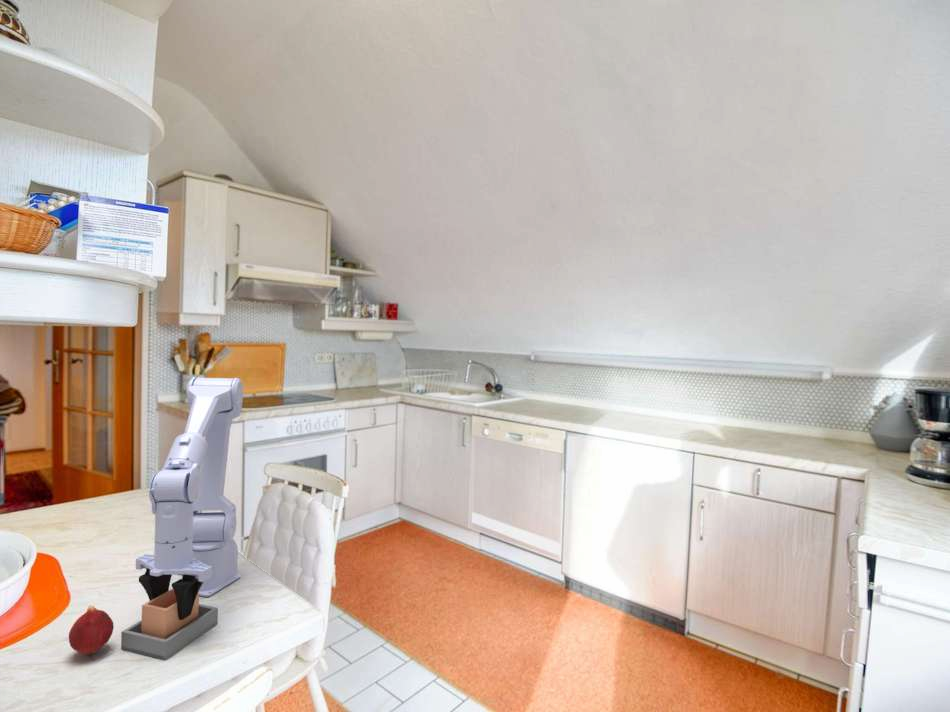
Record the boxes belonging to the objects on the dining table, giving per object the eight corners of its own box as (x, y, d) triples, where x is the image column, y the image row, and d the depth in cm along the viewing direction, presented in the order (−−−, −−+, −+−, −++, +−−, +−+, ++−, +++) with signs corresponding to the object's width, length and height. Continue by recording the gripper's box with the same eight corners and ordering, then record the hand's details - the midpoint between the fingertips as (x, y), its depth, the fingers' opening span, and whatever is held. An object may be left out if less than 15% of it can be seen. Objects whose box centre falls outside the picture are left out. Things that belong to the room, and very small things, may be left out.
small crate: (175, 613, 92) (176, 586, 92) (198, 618, 90) (199, 591, 90) (141, 634, 85) (142, 605, 85) (164, 640, 84) (165, 610, 84)
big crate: (177, 615, 95) (177, 599, 95) (217, 624, 92) (217, 607, 92) (121, 649, 84) (121, 631, 84) (165, 660, 81) (165, 642, 81)
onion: (120, 643, 85) (122, 597, 85) (96, 665, 80) (97, 615, 79) (85, 643, 85) (86, 596, 85) (58, 664, 79) (60, 615, 79)
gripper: (120, 540, 86) (118, 618, 86) (189, 552, 82) (187, 634, 82) (156, 526, 92) (154, 598, 93) (221, 536, 89) (219, 612, 89)
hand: (172, 614), depth 88 cm, fingers closed on small crate, 5 cm apart
